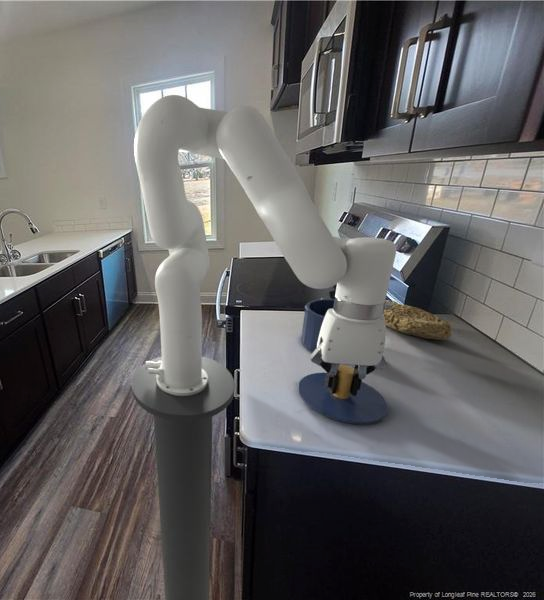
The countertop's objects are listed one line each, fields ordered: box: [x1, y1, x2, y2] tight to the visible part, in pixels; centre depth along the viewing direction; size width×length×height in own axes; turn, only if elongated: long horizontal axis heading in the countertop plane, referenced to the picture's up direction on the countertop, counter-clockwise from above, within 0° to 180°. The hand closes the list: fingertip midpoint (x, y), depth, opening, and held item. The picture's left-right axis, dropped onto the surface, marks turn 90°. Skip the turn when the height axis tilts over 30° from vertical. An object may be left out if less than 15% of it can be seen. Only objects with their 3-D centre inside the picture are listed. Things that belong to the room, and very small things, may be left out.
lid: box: [297, 364, 389, 425], centre depth 64 cm, size 16×16×7 cm
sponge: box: [383, 299, 452, 341], centre depth 89 cm, size 13×8×20 cm
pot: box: [300, 297, 335, 353], centre depth 83 cm, size 15×20×10 cm
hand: (341, 389), depth 64 cm, fingers closed on lid, 3 cm apart
